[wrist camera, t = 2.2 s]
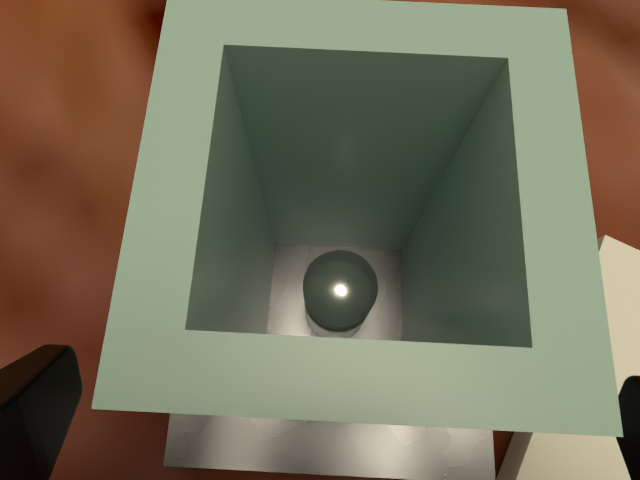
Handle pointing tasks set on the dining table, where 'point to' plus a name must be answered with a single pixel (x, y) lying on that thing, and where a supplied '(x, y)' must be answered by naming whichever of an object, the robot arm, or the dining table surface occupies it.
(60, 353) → the robot arm
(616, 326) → the board
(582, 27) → the dining table surface
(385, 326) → the stand
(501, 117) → the sleeve
